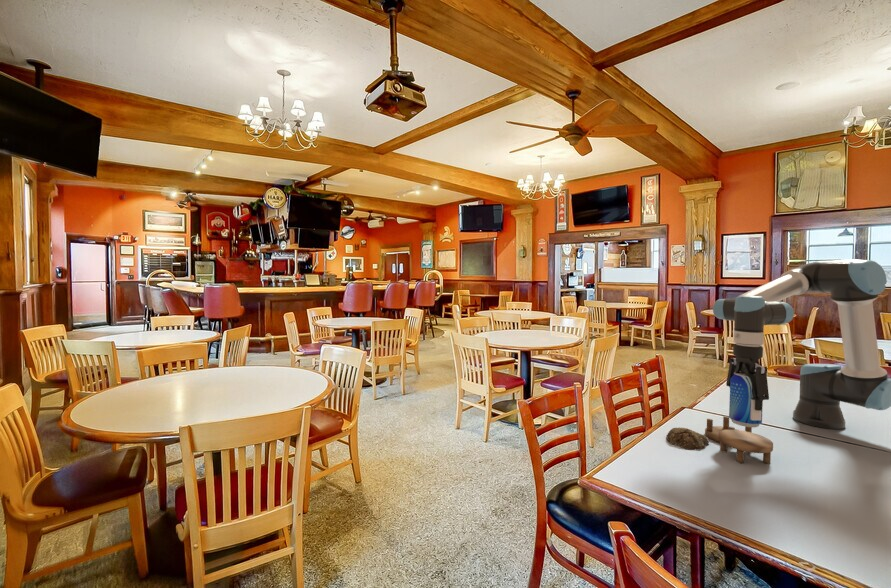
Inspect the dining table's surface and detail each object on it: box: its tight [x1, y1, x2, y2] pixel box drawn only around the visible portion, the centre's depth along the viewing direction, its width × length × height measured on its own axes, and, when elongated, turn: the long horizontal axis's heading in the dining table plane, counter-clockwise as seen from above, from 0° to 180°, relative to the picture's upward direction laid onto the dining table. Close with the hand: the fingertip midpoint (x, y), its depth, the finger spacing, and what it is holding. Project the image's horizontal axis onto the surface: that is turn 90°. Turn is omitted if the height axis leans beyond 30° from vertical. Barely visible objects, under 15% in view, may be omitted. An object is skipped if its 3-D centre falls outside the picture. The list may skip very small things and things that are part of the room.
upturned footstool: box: [704, 415, 753, 444], centre depth 141 cm, size 14×14×6 cm
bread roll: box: [666, 427, 710, 451], centre depth 139 cm, size 13×12×5 cm
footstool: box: [718, 429, 774, 465], centre depth 128 cm, size 14×14×6 cm
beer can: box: [728, 372, 763, 428], centre depth 127 cm, size 8×8×16 cm
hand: (745, 414), depth 127 cm, fingers closed on beer can, 8 cm apart
